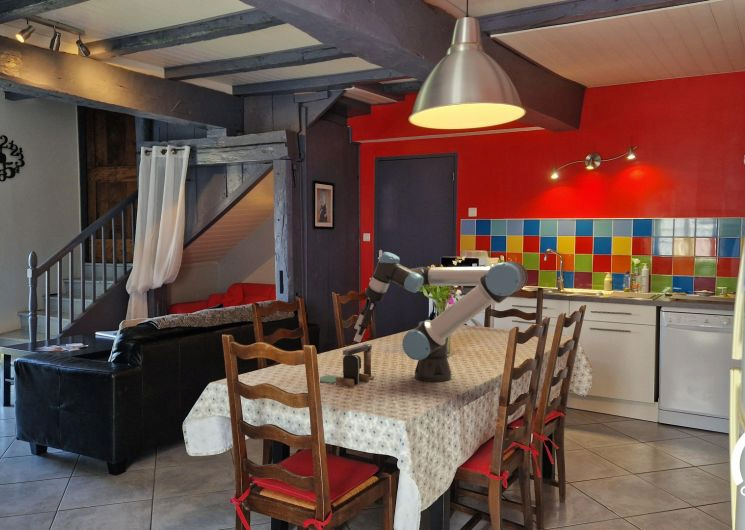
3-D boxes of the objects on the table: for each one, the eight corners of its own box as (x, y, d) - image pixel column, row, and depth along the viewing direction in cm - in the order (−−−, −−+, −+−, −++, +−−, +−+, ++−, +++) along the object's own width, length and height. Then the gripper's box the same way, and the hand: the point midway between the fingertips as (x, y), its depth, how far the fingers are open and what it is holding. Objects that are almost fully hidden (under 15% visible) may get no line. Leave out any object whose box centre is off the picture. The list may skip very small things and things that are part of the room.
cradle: (379, 378, 261) (378, 350, 260) (352, 387, 245) (352, 358, 244) (362, 376, 265) (362, 348, 265) (335, 385, 249) (335, 356, 249)
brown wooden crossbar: (373, 349, 261) (373, 344, 261) (349, 355, 247) (349, 351, 247) (366, 348, 263) (366, 343, 263) (341, 354, 249) (341, 350, 249)
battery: (362, 383, 252) (362, 354, 251) (357, 385, 249) (357, 356, 248) (347, 381, 255) (347, 353, 255) (342, 383, 252) (342, 355, 251)
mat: (347, 379, 259) (347, 377, 259) (332, 384, 251) (332, 382, 251) (328, 376, 265) (328, 374, 265) (312, 381, 257) (312, 379, 257)
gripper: (368, 277, 267) (349, 321, 272) (368, 294, 243) (347, 343, 248) (384, 283, 268) (365, 327, 273) (386, 302, 244) (365, 349, 249)
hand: (356, 335), depth 261 cm, fingers open, 13 cm apart
